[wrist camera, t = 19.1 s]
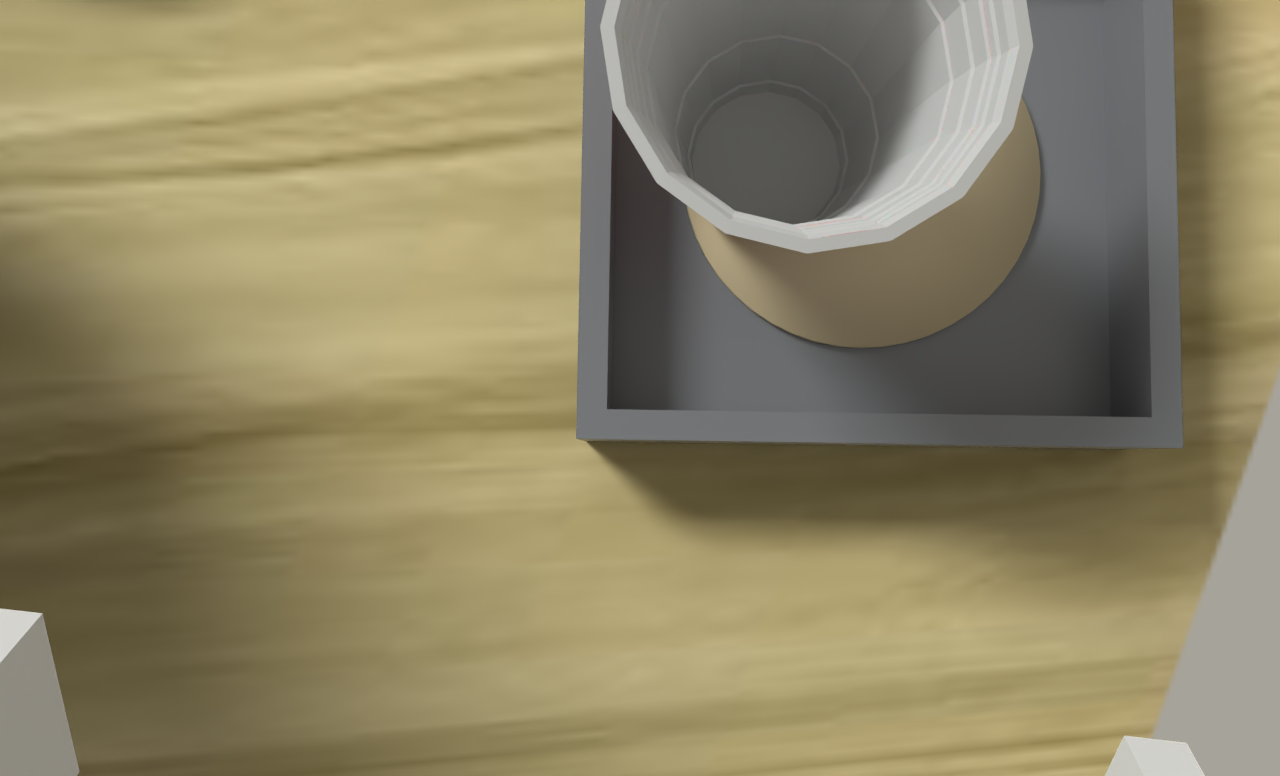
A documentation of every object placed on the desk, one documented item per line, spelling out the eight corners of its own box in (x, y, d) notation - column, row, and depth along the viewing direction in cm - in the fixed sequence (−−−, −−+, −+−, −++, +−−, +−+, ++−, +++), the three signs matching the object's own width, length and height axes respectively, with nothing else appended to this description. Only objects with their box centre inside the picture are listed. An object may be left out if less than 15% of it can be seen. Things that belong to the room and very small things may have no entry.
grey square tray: (585, 441, 37) (576, 438, 33) (595, -75, 38) (588, -137, 34) (1126, 449, 37) (1183, 448, 33) (1116, -73, 38) (1169, -136, 34)
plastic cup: (678, 359, 36) (688, 309, 24) (578, 86, 37) (538, -95, 25) (960, 257, 36) (1110, 156, 24) (853, -14, 37) (946, -242, 25)
